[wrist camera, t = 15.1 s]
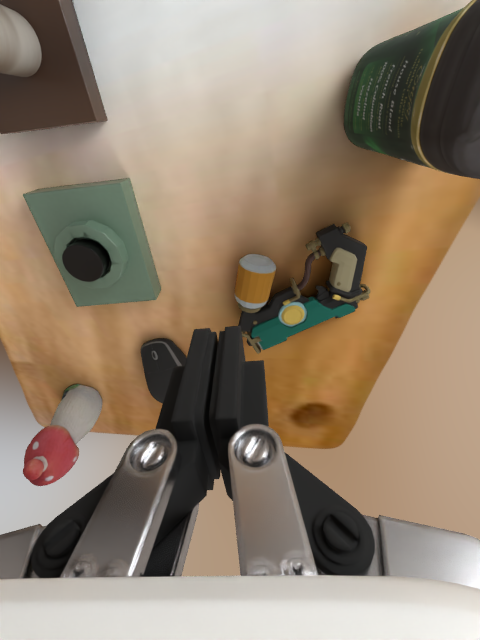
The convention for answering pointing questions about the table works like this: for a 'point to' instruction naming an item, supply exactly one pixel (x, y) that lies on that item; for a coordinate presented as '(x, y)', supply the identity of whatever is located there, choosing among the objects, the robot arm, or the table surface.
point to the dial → (18, 45)
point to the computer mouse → (160, 365)
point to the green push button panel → (98, 238)
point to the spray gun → (288, 305)
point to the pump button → (85, 260)
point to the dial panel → (51, 74)
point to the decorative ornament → (62, 436)
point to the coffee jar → (422, 95)
